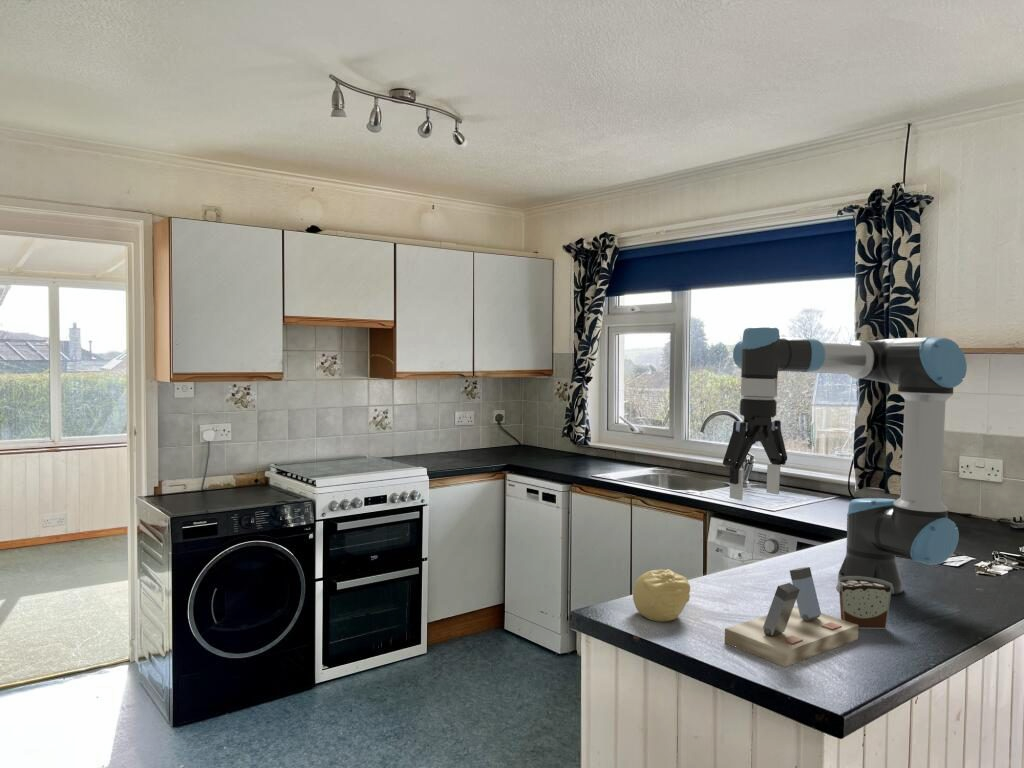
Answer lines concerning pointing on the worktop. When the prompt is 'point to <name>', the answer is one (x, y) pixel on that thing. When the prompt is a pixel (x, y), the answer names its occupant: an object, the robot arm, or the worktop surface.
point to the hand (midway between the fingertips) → (754, 496)
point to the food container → (864, 601)
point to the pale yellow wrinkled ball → (661, 594)
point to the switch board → (792, 637)
